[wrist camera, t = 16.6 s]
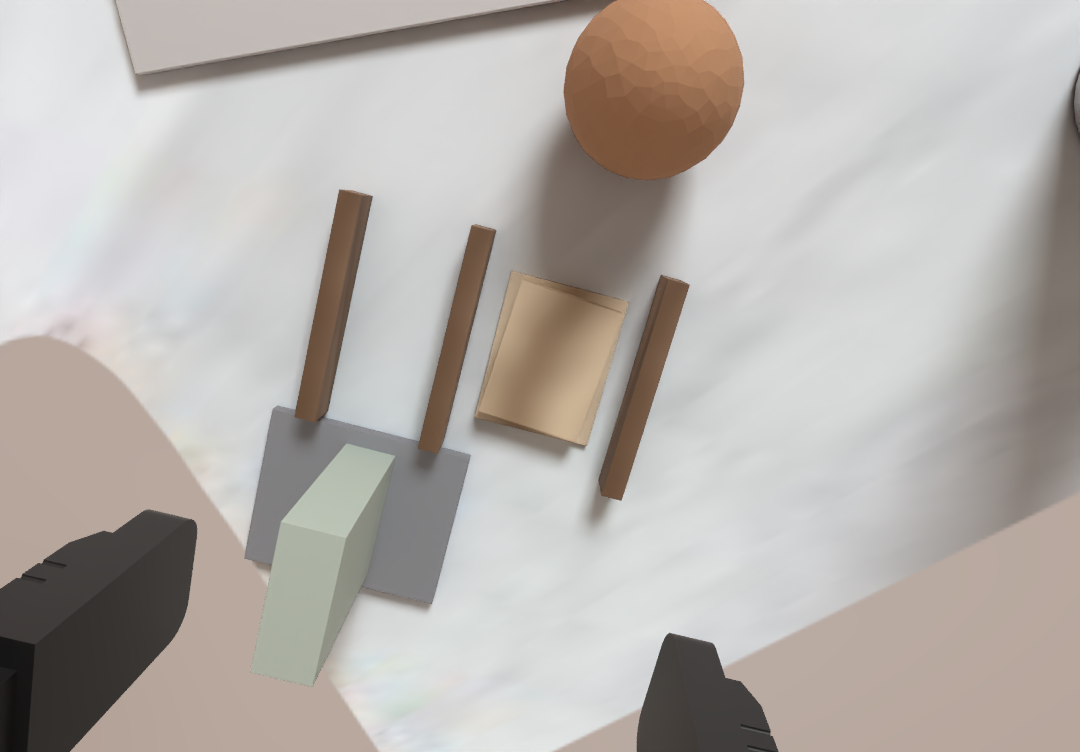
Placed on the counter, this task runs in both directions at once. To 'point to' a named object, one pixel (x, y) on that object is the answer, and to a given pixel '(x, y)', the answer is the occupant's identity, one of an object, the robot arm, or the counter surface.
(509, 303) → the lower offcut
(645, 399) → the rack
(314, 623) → the pale green block
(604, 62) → the egg
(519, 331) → the upper offcut
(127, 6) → the baseboard molding
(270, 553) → the rubber mat
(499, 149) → the counter surface
